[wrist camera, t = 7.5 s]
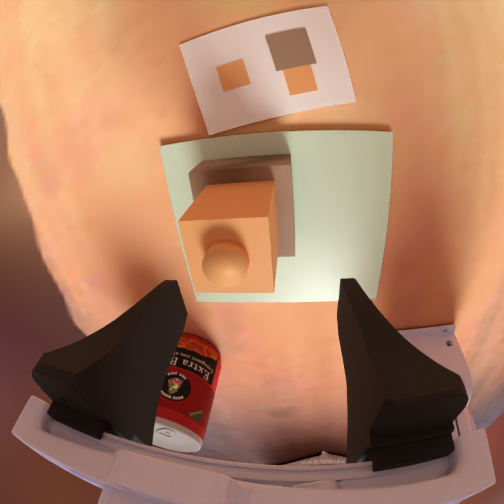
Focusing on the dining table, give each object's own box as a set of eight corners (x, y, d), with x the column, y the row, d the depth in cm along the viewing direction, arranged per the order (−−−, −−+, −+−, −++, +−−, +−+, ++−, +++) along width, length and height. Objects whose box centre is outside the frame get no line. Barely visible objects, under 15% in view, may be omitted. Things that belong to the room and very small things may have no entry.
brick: (274, 180, 16) (266, 225, 11) (279, 241, 18) (272, 304, 13) (207, 185, 17) (171, 229, 12) (217, 243, 19) (191, 302, 14)
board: (391, 131, 16) (393, 132, 16) (374, 296, 24) (375, 299, 23) (161, 145, 19) (159, 146, 19) (197, 298, 26) (196, 301, 26)
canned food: (229, 342, 29) (206, 438, 20) (216, 380, 33) (197, 458, 24) (159, 321, 29) (118, 408, 20) (158, 361, 33) (128, 435, 24)
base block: (290, 153, 18) (290, 164, 15) (295, 234, 21) (295, 256, 19) (202, 160, 19) (188, 173, 16) (215, 237, 22) (205, 258, 20)
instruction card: (327, 6, 13) (327, 5, 12) (355, 102, 16) (356, 102, 16) (180, 45, 15) (178, 44, 15) (209, 135, 18) (208, 135, 18)
